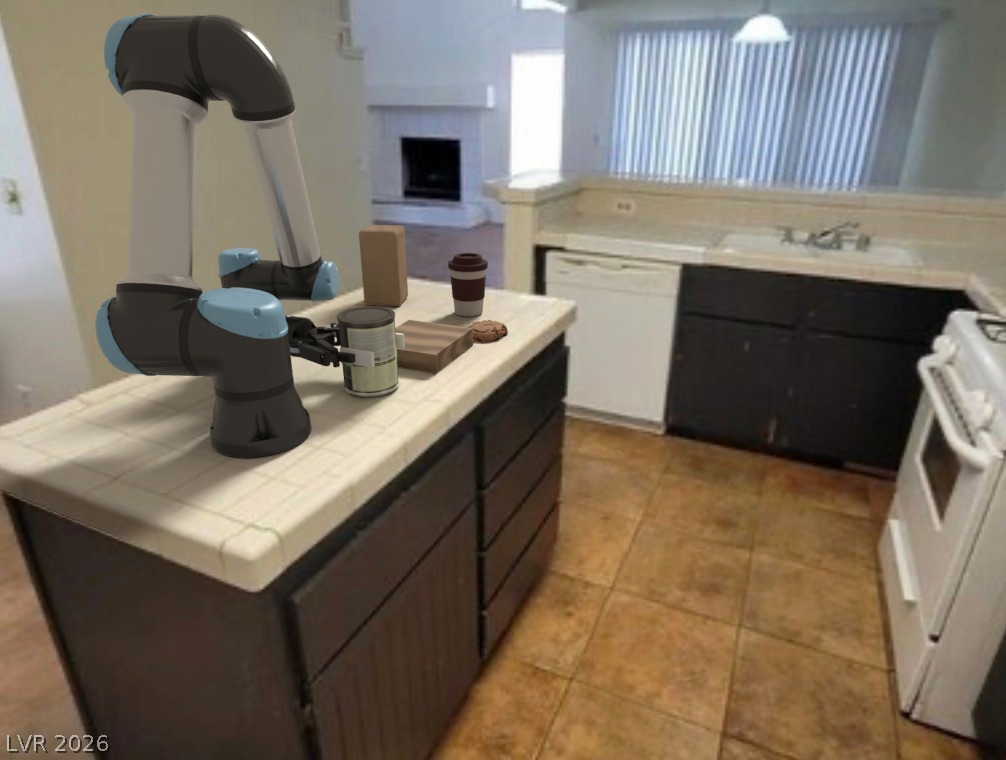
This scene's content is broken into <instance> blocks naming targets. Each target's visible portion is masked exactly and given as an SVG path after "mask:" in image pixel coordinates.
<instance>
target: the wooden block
mask: <svg viewBox="0 0 1006 760" xmlns="http://www.w3.org/2000/svg"><path fill="white" fill-rule="evenodd" d="M405 233H406V231H405V227H404V226H403V225H399V224H398V225H397V224H395V225H394V224H389V225H388V224H370V225H367V226H366V227H364V228H363V229H361V230H359V232H358V242H359V252H360V253H359V254H360V264H361V275H362V288H363V301H364V304H365V306H376V307H400V306H401V305H402V304H403V303H404V302H405V301H406V299H408V296H409V290H408V289H409V288H408V272H407V271H408V270H407V268H408V267H407V254H406V252H407V250H406V248H407V247H406V234H405Z"/></svg>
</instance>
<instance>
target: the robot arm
mask: <svg viewBox="0 0 1006 760" xmlns="http://www.w3.org/2000/svg"><path fill="white" fill-rule="evenodd" d="M103 46H104V47H103V60H104V65H105V68H106V69H107V70H108V74H107V77H108V79H109V82H110V83H111V85H112V86H113V89H114V90H115V91H116V92H117V93H118V94H119V95H120V96H121V102H122V104H124V106H125V108H127V109H128V110H129V111H130V112H131V114H132V116H133V118H132V148H131V149H132V152H131V153H132V155H131V179H130V180H131V184H130V185H131V186H130V188H131V189H130V214H129V216H130V217H129V247H128V248H129V250H128V272H127V274H126V275H124V276H123V277H122V278H120V279H119V280H118V281H117V282H116V285H115V286H116V287H115V296H111V298H108V299H106V300H104V301H103V302H102V303H101V304H100V308H99V309H98V310H97V313H96V315H95V323H94V325H95V326H94V327H95V334H96V335H95V336H96V339H97V343H98V346H99V348H100V351H101V352H102V354H103V356H104V357H105V358H106V359H107V361H108V362H109V364H110V365H112V366H113V367H114V368H115V369H117V370H118V371H120V372H124V373H127V374H130V375H131V374H133V375H142V376H146V377H156V376H173V377H174V376H175V377H179V376H180V377H208V378H209V377H210V378H211V379H212V384H213V388H214V395H215V399H214V406H213V413H212V422H211V425H210V426H209V427H210V428H209V435H210V440H211V446H212V447H213V449H214V450H215V451H216V452H218V453H220V454H222V455H224V456H228V457H232V458H242V459H243V458H244V459H247V458H249V459H250V458H262V457H267V456H272V455H273V456H274V455H276V454H279V453H283V452H285V451H288V450H291V449H293V448H294V447H296V446H298V445H300V444H302V443H303V442H304V441H305V440H306V439H308V437H309V436H310V435H311V432H312V424H311V416H310V414H309V412H308V410H307V408H306V407H305V406H304V403H303V401H302V399H301V396H300V395H299V392H298V390H297V388H296V385H295V382H294V381H295V379H294V371H293V365H292V364H293V363H292V357H295V358H300V359H304V360H306V361H309V362H312V363H313V364H318V365H320V366H322V367H323V366H324V367H330V366H331V363H332V367H333V368H339V367H340V365H341V364H342V363H347V364H353V365H359V366H365V367H371V368H373V367H374V366H375V363H374V352H371V351H365V350H358V349H351V348H345V347H341V346H340V336H339V326H338V322H331V323H330V327H326V326H316V325H315V324H314V322H313V321H312V320H311V319H309V318H307V317H302V316H296V315H289V314H285V310H284V306H283V304H282V302H281V301H304V302H306V301H308V302H309V301H310V302H324V301H325V302H326V301H331V300H334V299H335V298H336V296H337V294H338V292H339V288H340V275H339V271H338V270H339V269H338V267H337V266H336V264H335V262H333V261H327V260H323V258H322V253H321V248H320V245H319V240H318V236H317V231H316V227H315V221H314V216H313V212H312V209H311V208H312V207H311V202H310V199H309V193H308V190H307V185H306V181H305V176H304V171H303V166H302V162H301V158H300V154H299V149H298V146H297V145H298V144H297V139H296V135H295V131H294V126H293V122H292V118H293V116H294V115H295V113H296V105H295V99H294V97H293V96H294V95H293V91H292V89H291V86H290V84H289V80H288V78H287V76H286V74H285V73H284V70H283V68H282V67H281V65H280V63H279V61H278V60H277V58H276V57H275V55H274V54H273V52H272V51H271V50H270V48H269V47H268V46H267V45H266V43H265V42H264V41H263V40H262V39H260V37H259V36H257V34H255V33H254V32H253V31H252V30H251V29H249V28H248V27H247V26H245V25H244V24H243V23H241V22H239V21H237V20H235V19H234V18H231V17H228V16H224V15H221V14H206V15H199V14H198V15H196V14H195V15H156V14H154V13H153V14H152V13H142V14H139V15H133V16H132V15H130V16H125V17H121V18H120V19H118V20H116V21H115V22H113V24H111V26H110V28H109V29H108V31H107V32H106V37H105V40H104V45H103ZM210 101H211V102H215V101H217V102H219V101H223V102H224V101H226V102H227V103H228V104H229V106H230V108H231V112H232V115H233V118H234V119H235V121H237V122H238V123H241V124H242V128H243V131H244V134H245V138H246V142H247V145H248V150H249V152H250V157H251V160H252V163H253V167H254V170H255V174H256V178H257V181H258V185H259V189H260V192H261V196H262V199H263V204H264V207H265V210H266V215H267V218H268V221H269V226H270V229H271V233H272V235H273V240H274V245H275V247H276V250H277V254H278V257H279V260H272V259H271V260H267V259H265V260H264V259H263V260H262V258H261V256H260V254H259V251H258V250H257V249H255V248H249V247H235V248H228V249H225V250H222V251H220V253H219V254H218V255H217V261H218V263H217V264H218V273H219V274H218V277H219V278H220V287H219V288H213V289H209V290H206V291H204V292H203V289H202V287H201V286H199V285H198V283H196V281H195V280H194V278H193V265H194V263H193V262H194V261H193V260H194V258H193V257H194V230H195V201H196V200H195V197H196V196H195V194H196V163H197V134H198V133H197V132H198V131H197V130H198V126H199V125H201V124H203V123H204V122H206V121H207V119H208V117H209V116H208V115H209V102H210ZM339 346H340V347H339ZM337 347H339V348H337ZM396 348H405V336H404V334H402V333H396ZM340 363H341V364H340Z"/></svg>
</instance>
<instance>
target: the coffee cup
mask: <svg viewBox="0 0 1006 760" xmlns="http://www.w3.org/2000/svg"><path fill="white" fill-rule="evenodd" d="M447 264H448V265H447V266H448V267H447V268H448V269H449V271H450V283H451V297H452V299H453V307H454V313H455V315H457V316H460V317H466V318H467V317H469V318H471V317H472V318H473V317H478V316H480V315H482V313H484V312H483V311H484V299H485V297H486V296H485V295H486V279H487V277H486V270H487V269H488V266H489V264H488V260H486V259H483V257H482V255H481V254H480V253H476V252H462V253H457V254H454V256H453V258H452V259H450V260H448V263H447Z"/></svg>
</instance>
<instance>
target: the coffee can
mask: <svg viewBox="0 0 1006 760" xmlns="http://www.w3.org/2000/svg"><path fill="white" fill-rule="evenodd" d="M395 319H396V312H395V311H394V310H393V309H391V308H388V307H386V306H369V305H365V306H357V307H350V308H348V309H345V310H342V311H340V312H339V313H337V315H336V320H337V323H338V326H339V336H340V348H341V347H345V348H351V349H358V350H365V351H371V352H374V363H375V366H374V367H373V368H371V367H365V366H359V365H353V364H347V363H341V364H342V373H343V374H342V375H343V376H342V377H343V383H344V384H343V388H344V390H345V392H347V393H348V394H349V395H353V396H357V397H376V396H383V395H386V394H389V393H392V392H394V391H395V390H396V389H398V387H399V385H400V381H399V370H398V369H399V367H398V366H397V348H396V333H395V328H396V321H395Z"/></svg>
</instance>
